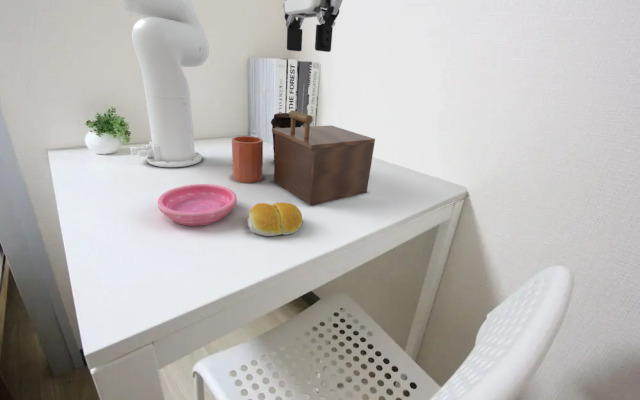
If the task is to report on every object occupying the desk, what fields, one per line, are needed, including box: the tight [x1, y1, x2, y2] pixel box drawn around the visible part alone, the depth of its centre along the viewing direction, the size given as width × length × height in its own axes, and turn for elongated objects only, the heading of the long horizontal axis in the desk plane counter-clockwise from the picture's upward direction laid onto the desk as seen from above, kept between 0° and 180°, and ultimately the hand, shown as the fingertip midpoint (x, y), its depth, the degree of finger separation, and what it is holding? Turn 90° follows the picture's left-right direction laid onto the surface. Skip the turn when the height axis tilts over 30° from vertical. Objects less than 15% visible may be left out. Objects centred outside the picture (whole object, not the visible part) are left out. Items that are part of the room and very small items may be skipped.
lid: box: [271, 109, 376, 149], centre depth 64 cm, size 16×15×5 cm
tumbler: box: [231, 135, 264, 184], centre depth 69 cm, size 7×7×9 cm
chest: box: [273, 134, 375, 206], centre depth 67 cm, size 16×15×11 cm
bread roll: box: [246, 202, 304, 237], centre depth 51 cm, size 8×9×4 cm
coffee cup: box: [270, 112, 305, 159], centre depth 81 cm, size 9×8×13 cm
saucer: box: [157, 183, 238, 227], centre depth 53 cm, size 12×12×3 cm
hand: (307, 50), depth 59 cm, fingers open, 9 cm apart
